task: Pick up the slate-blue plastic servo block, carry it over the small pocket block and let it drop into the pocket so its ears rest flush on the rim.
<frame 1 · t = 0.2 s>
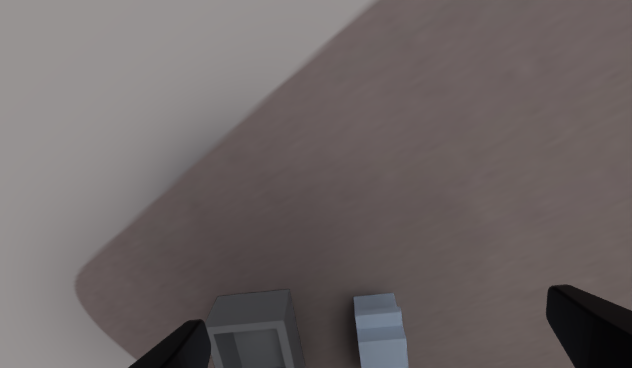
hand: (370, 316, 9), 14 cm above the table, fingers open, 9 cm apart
pocket block: (263, 332, 27), on the table
servo block: (376, 321, 26), on the table
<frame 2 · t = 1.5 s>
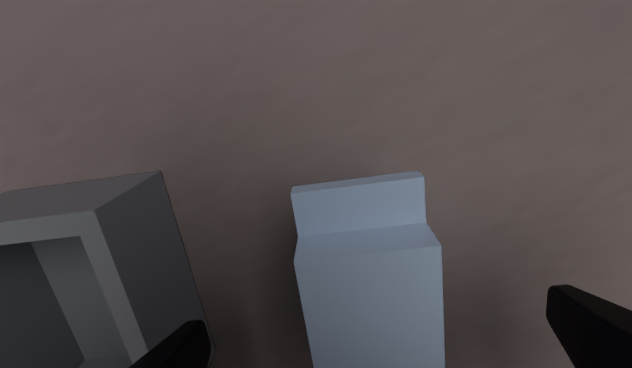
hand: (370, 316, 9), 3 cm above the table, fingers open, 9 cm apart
pocket block: (118, 277, 12), on the table
servo block: (359, 249, 12), on the table
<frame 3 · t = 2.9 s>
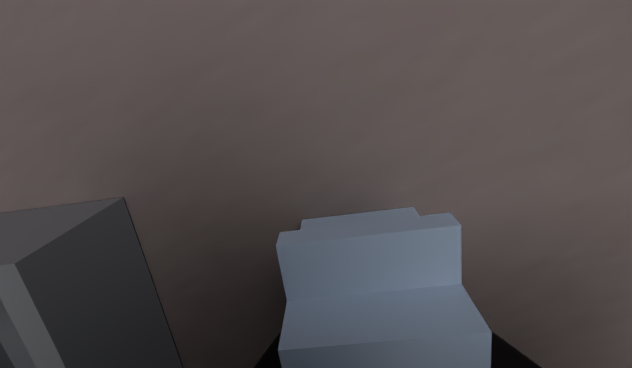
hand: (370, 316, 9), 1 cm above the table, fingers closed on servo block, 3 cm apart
pocket block: (78, 320, 10), on the table
servo block: (366, 291, 10), on the table, touching gripper
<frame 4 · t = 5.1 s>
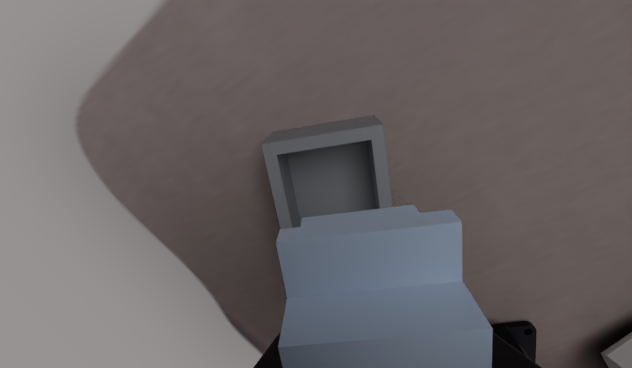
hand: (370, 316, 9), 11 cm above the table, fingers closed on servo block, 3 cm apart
pocket block: (333, 188, 19), on the table
servo block: (366, 289, 10), point 10 cm above the table, touching gripper
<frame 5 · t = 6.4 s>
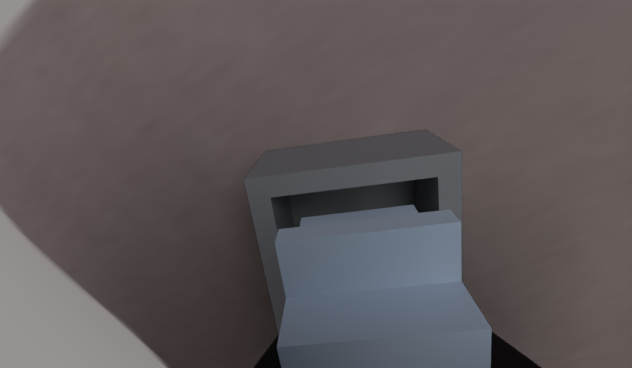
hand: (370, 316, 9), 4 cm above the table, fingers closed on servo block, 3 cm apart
pocket block: (355, 237, 13), on the table
servo block: (365, 289, 10), point 3 cm above the table, touching gripper
when the fingers open (4 cm above the table, at t = 7.2 s): servo block drops 2 cm, resting on pocket block.
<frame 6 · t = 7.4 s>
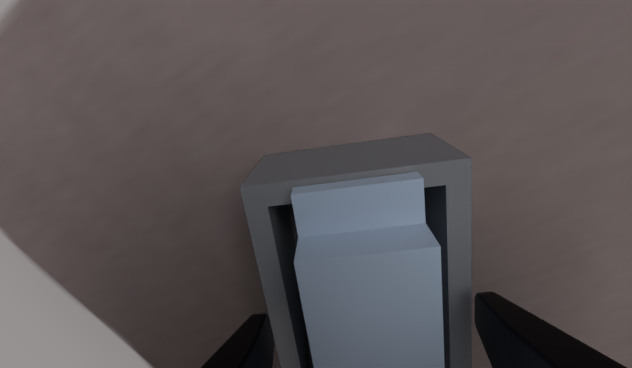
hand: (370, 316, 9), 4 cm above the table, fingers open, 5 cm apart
pocket block: (357, 244, 12), on the table
servo block: (359, 250, 12), resting on pocket block
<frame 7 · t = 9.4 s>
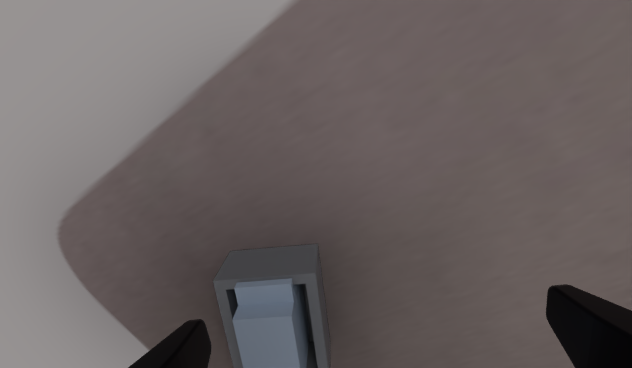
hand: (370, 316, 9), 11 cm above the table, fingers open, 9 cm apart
pocket block: (282, 298, 22), on the table
servo block: (281, 302, 22), resting on pocket block
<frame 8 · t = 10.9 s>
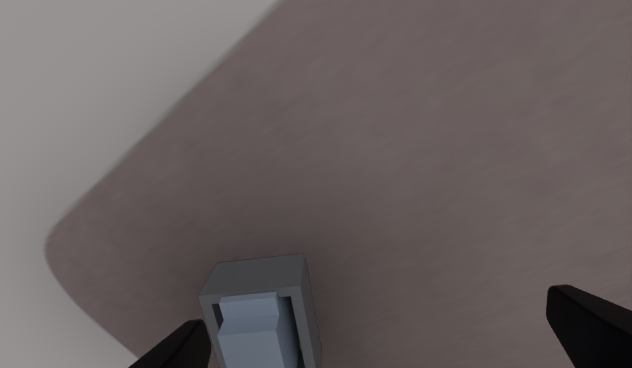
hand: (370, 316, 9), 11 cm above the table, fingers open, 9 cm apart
pocket block: (271, 308, 22), on the table
servo block: (270, 312, 22), resting on pocket block
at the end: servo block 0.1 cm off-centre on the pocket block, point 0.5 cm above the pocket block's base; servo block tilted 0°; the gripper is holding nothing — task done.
